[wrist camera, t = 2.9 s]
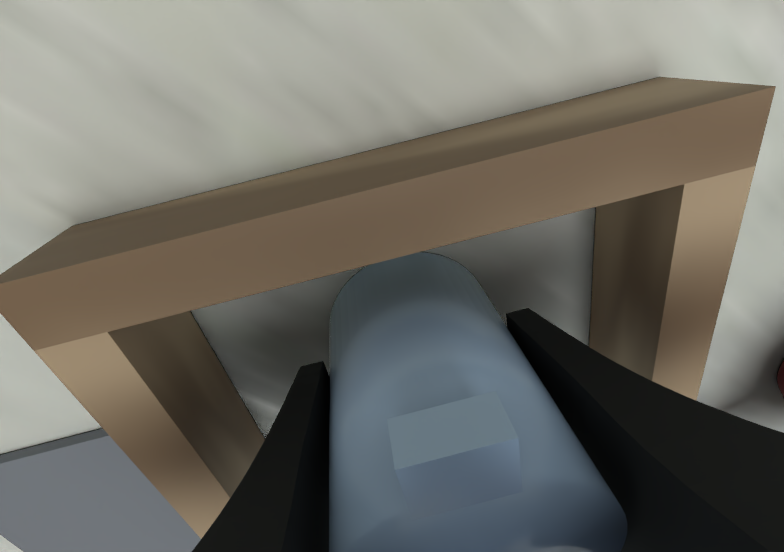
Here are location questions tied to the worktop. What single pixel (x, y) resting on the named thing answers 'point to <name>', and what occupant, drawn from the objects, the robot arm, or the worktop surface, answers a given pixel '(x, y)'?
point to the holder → (388, 241)
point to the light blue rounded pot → (449, 426)
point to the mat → (85, 501)
